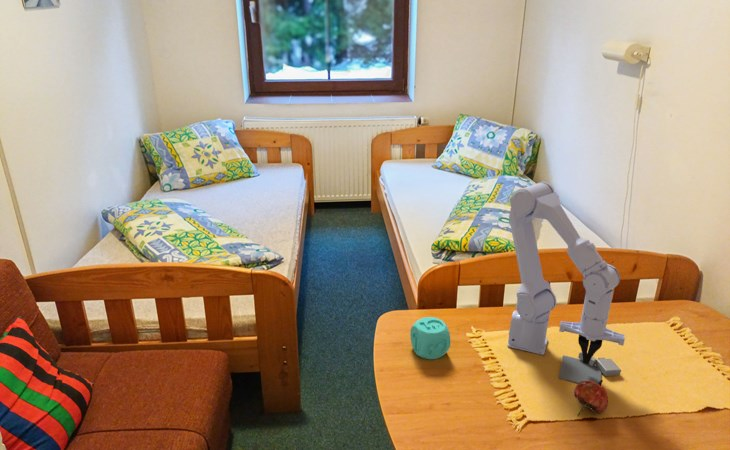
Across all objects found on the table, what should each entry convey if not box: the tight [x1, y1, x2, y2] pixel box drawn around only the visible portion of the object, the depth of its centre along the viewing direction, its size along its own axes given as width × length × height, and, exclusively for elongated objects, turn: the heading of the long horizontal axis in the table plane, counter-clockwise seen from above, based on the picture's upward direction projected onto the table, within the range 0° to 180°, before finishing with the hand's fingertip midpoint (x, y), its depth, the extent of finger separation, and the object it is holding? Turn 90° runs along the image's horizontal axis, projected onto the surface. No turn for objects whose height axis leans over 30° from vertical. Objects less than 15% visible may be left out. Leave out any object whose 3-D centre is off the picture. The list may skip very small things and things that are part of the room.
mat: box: [558, 354, 602, 384], centre depth 139 cm, size 10×10×1 cm
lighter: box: [577, 351, 622, 377], centre depth 140 cm, size 7×2×8 cm
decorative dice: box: [409, 316, 451, 360], centre depth 145 cm, size 8×8×8 cm
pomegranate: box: [573, 379, 609, 417], centre depth 125 cm, size 7×7×10 cm
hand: (585, 361), depth 137 cm, fingers closed
